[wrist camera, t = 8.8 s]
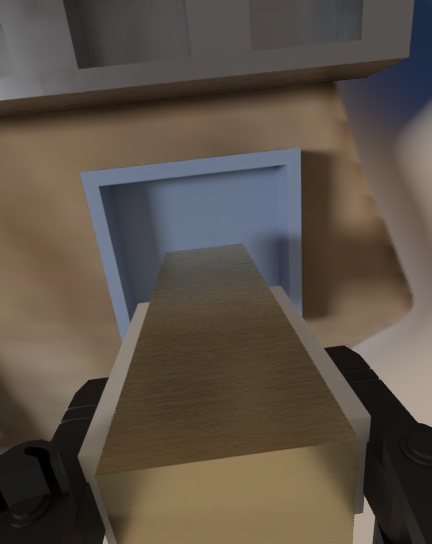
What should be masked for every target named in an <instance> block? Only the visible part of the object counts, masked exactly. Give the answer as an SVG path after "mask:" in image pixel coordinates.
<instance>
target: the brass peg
mask: <svg viewBox="0 0 432 544" xmlns="http://www.w3.org/2000/svg"><path fill="white" fill-rule="evenodd" d="M359 440H360V439H359V438H358V436H357V434H356V433H355V431H354V429H353V428H352V426H351V424H350V423H349V421H348V419H347V418H346V416H345V414H344V412H343V411H342V409H341V407H340V406H339V404H338V402H337V401H336V399H335V397H334V396H333V394H332V392H331V391H330V389H329V387H328V386H327V384H326V382H325V381H324V379H323V377H322V375H321V374H320V372H319V370H318V369H317V367H316V365H315V364H314V362H313V360H312V359H311V357H310V355H309V354H308V352H307V350H306V349H305V347H304V345H303V344H302V342H301V340H300V338H299V337H298V335H297V333H296V332H295V330H294V328H293V327H292V325H291V323H290V322H289V320H288V318H287V317H286V315H285V313H284V312H283V310H282V308H281V307H280V305H279V303H278V302H277V300H276V298H275V296H274V295H273V293H272V291H271V290H270V288H269V286H268V285H267V283H266V281H265V280H264V278H263V276H262V275H261V273H260V271H259V270H258V268H257V266H256V265H255V263H254V261H253V259H252V258H251V256H250V254H249V253H248V251H247V249H246V248H245V246H244V244H243V243H240V244H231V245H223V246H215V247H206V248H198V249H190V250H182V251H173V252H165V256H164V259H163V262H162V265H161V268H160V271H159V274H158V278H157V281H156V284H155V287H154V290H153V293H152V296H151V299H150V303H149V306H148V309H147V312H146V315H145V318H144V321H143V325H142V328H141V331H140V334H139V337H138V340H137V343H136V347H135V350H134V353H133V356H132V359H131V362H130V365H129V368H128V372H127V375H126V378H125V381H124V384H123V387H122V390H121V394H120V397H119V400H118V403H117V406H116V409H115V412H114V416H113V419H112V422H111V425H110V428H109V431H108V434H107V437H106V441H105V444H104V447H103V450H102V453H101V456H100V459H99V463H98V466H97V469H96V472H95V475H94V477H95V480H96V483H97V486H98V489H99V492H100V495H101V498H102V501H103V504H104V507H105V510H106V513H107V516H108V519H109V522H110V525H111V528H112V530H113V533H114V536H115V539H116V542H117V544H352V541H353V527H354V512H355V498H356V483H357V469H358V454H359Z"/></svg>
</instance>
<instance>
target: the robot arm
mask: <svg viewBox="0 0 432 544" xmlns="http://www.w3.org/2000/svg"><path fill="white" fill-rule="evenodd" d="M269 288H270V290H271V291H272V293H273V295H274V296H275V298H276V300H277V302H278V303H279V305H280V307H281V308H282V310H283V312H284V313H285V315H286V317H287V318H288V320H289V322H290V323H291V325H292V327H293V328H294V330H295V332H296V333H297V335H298V337H299V338H300V340H301V342H302V344H303V345H304V347H305V349H306V350H307V352H308V354H309V355H310V357H311V359H312V360H313V362H314V364H315V365H316V367H317V369H318V370H319V372H320V374H321V375H322V377H323V379H324V381H325V382H326V384H327V386H328V387H329V389H330V391H331V392H332V394H333V396H334V397H335V399H336V401H337V402H338V404H339V406H340V407H341V409H342V411H343V412H344V414H345V416H346V418H347V419H348V421H349V423H350V424H351V426H352V428H353V429H354V431H355V433H356V434H357V436H358V438H359V439H360V440H359V454H358V469H357V483H356V498H355V512H354V514H360V513H363V506H364V495H365V497H366V499H367V501H368V503H369V505H370V507H371V509H372V511H373V513H374V515H375V524H374V534H373V543H372V544H432V427H430V426H428V425H425V424H422V423H418V422H417V421H416V420H415V419H414V418H413V417H412V416H411V414H410V413H409V412H408V411H407V410H406V408H405V407H404V406H403V405H402V404H401V403H400V401H399V400H398V399H397V398H396V397H395V396H394V394H392V392H391V391H390V390H389V389H388V387H387V386H386V385H385V384H384V383H383V382H382V380H379V377H378V376H377V375H376V373H375V372H374V371H373V370H372V369H370V366H369V365H368V364H367V363H366V362H365V361H364V359H363V358H362V357H361V356H360V355H359V354H357V353H356V352H354V351H353V350H351V349H349V348H348V347H346V346H344V345H343V346H336V347H328V348H323V346H322V345H321V344H320V342H319V341H318V339H317V338H316V336H315V335H314V333H313V332H312V331H311V329H310V328H309V326H308V325H307V323H306V322H305V320H304V319H303V318H302V316H301V315H300V313H299V312H298V310H297V309H296V308H295V306H294V305H293V303H292V302H291V300H290V299H289V297H288V296H287V295H286V293H285V292H284V290H283V289H282V287H281V286H273V287H269ZM149 303H150V302H145V303H138V305H137V308H136V310H135V313H134V315H133V318H132V320H131V323H130V326H129V328H128V331H127V333H126V336H125V338H124V341H123V343H122V346H121V348H120V351H119V353H118V356H117V358H116V361H115V363H114V366H113V368H112V371H111V374H110V376H109V377H108V378H100V379H92V380H88V381H87V382H86V383H85V384H84V385H83V386H82V387H81V388H80V389H79V390H78V391H77V392H76V393H75V395H74V397H73V399H72V401H71V403H70V405H69V407H68V411H66V413H65V415H64V417H63V419H62V420H61V424H59V426H58V428H57V430H56V432H55V434H54V436H53V438H52V440H51V442H49V441H45V440H34V441H27V442H25V443H22V444H20V445H17V446H15V447H13V448H11V449H9V450H8V451H6V452H5V453H3V454H2V455H0V544H103V539H104V535H105V536H106V538H107V541H108V544H117V542H116V539H115V536H114V533H113V530H112V528H111V525H110V522H109V519H108V516H107V513H106V510H105V507H104V504H103V501H102V498H101V495H100V492H99V489H98V486H97V483H96V480H95V477H94V475H95V472H96V469H97V466H98V463H99V459H100V456H101V453H102V450H103V447H104V444H105V441H106V437H107V434H108V431H109V428H110V425H111V422H112V419H113V416H114V412H115V409H116V406H117V403H118V400H119V397H120V394H121V390H122V387H123V384H124V381H125V378H126V375H127V372H128V368H129V365H130V362H131V359H132V356H133V353H134V350H135V347H136V343H137V340H138V337H139V334H140V331H141V328H142V325H143V321H144V318H145V315H146V312H147V309H148V306H149Z"/></svg>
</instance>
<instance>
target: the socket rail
mask: <svg viewBox="0 0 432 544" xmlns="http://www.w3.org/2000/svg"><path fill="white" fill-rule="evenodd" d="M413 11H414V0H0V117H4V116H13V115H22V114H32V113H41V112H50V111H60V110H69V109H78V108H88V107H97V106H106V105H116V104H125V103H134V102H143V101H153V100H162V99H171V98H181V97H190V96H199V95H209V94H218V93H227V92H237V91H246V90H255V89H265V88H274V87H283V86H293V85H302V84H311V83H320V82H330V81H339V80H348V79H358V78H366V77H368V76H370V75H372V74H374V73H377V72H378V71H381V70H383V69H385V68H387V67H389V66H391V65H393V64H396V63H398V62H400V61H402V60H404V59H406V58H408V57H409V52H410V41H411V32H412V21H413Z"/></svg>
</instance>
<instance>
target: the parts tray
mask: <svg viewBox="0 0 432 544" xmlns="http://www.w3.org/2000/svg"><path fill="white" fill-rule="evenodd" d="M80 175H81V179H82V183H83V187H84V191H85V195H86V199H87V203H88V207H89V211H90V215H91V219H92V223H93V227H94V231H95V235H96V239H97V243H98V247H99V251H100V255H101V259H102V264H103V268H104V272H105V276H106V280H107V284H108V288H109V292H110V296H111V300H112V304H113V308H114V312H115V316H116V320H117V324H118V328H119V332H120V336H121V340H122V343H123V341H124V338H125V336H126V333H127V331H128V328H129V326H130V323H131V320H132V318H133V315H134V313H135V310H136V308H137V305H138V303H145V302H150V299H151V296H152V293H153V290H154V287H155V284H156V281H157V278H158V274H159V271H160V268H161V265H162V262H163V259H164V256H165V252H173V251H182V250H190V249H198V248H206V247H215V246H223V245H231V244H240V243H243V244H244V246H245V248H246V249H247V251H248V253H249V254H250V256H251V258H252V259H253V261H254V263H255V265H256V266H257V268H258V270H259V271H260V273H261V275H262V276H263V278H264V280H265V281H266V283H267V285H268V286H269V287H273V286H281V287H282V289H283V290H284V292H285V293H286V295H287V296H288V297H289V299H290V300H291V302H292V303H293V305H294V306H295V308H296V309H297V310H298V312H299V313H300V315H301V316H302V232H301V148H291V149H282V150H273V151H264V152H255V153H247V154H238V155H229V156H220V157H211V158H203V159H194V160H185V161H176V162H167V163H158V164H150V165H141V166H132V167H123V168H114V169H105V170H97V171H88V172H80Z"/></svg>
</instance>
